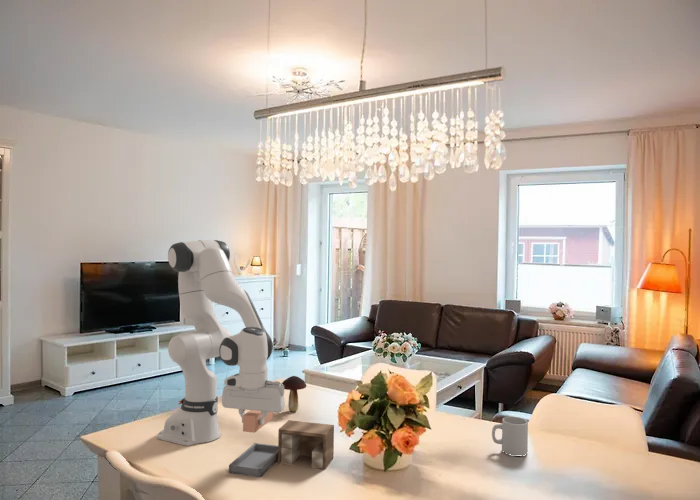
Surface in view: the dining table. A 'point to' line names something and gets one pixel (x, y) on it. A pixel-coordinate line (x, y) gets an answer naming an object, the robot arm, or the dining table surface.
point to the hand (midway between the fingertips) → (253, 423)
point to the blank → (254, 420)
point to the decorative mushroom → (293, 390)
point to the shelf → (306, 443)
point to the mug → (513, 435)
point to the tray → (255, 460)
